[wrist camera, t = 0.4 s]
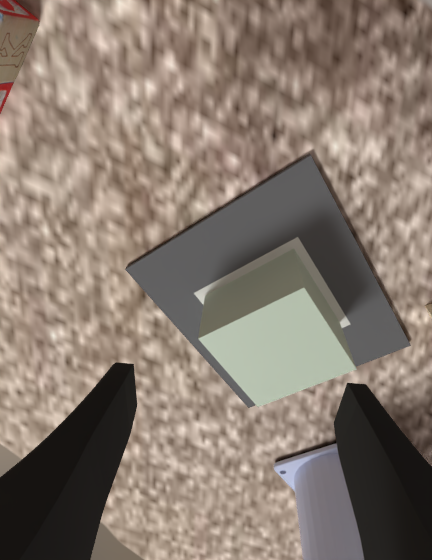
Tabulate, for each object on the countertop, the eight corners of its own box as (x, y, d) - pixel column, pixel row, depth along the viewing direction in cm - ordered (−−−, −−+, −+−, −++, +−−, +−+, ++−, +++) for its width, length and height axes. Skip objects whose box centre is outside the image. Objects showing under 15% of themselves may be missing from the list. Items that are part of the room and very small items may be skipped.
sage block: (339, 322, 23) (356, 369, 19) (255, 358, 25) (257, 407, 21) (294, 248, 20) (303, 287, 17) (205, 295, 22) (198, 338, 19)
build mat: (409, 342, 24) (410, 345, 23) (248, 404, 28) (248, 408, 27) (309, 153, 18) (310, 155, 18) (126, 266, 22) (125, 269, 22)
